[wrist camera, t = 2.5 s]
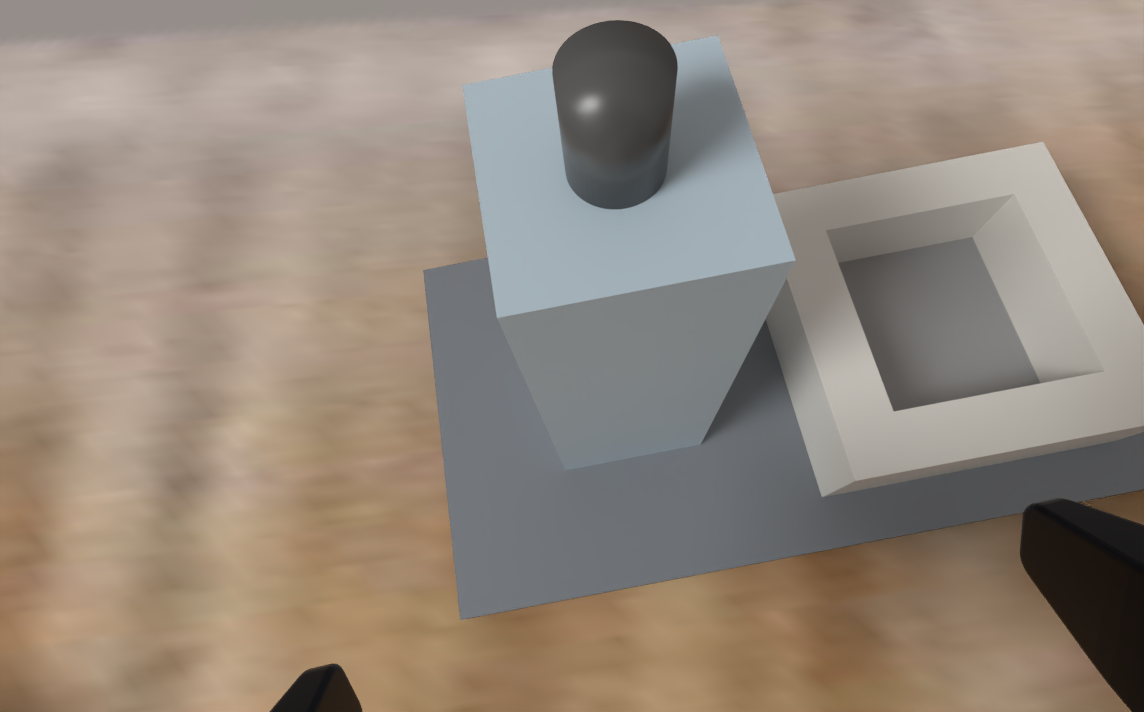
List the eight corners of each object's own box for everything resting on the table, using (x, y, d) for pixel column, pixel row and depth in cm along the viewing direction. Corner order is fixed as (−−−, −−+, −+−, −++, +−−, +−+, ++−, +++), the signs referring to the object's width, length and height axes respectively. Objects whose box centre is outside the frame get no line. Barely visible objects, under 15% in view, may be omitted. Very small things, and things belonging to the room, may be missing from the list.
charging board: (1001, 172, 24) (1016, 155, 23) (1160, 486, 20) (1187, 481, 19) (430, 282, 24) (423, 270, 23) (467, 618, 20) (460, 619, 19)
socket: (1112, 442, 20) (1193, 416, 17) (821, 497, 20) (855, 481, 17) (991, 197, 23) (1043, 141, 20) (742, 245, 23) (759, 196, 20)
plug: (700, 444, 20) (839, 175, 7) (565, 470, 20) (465, 247, 7) (668, 320, 22) (737, -81, 9) (543, 345, 22) (428, -22, 9)
